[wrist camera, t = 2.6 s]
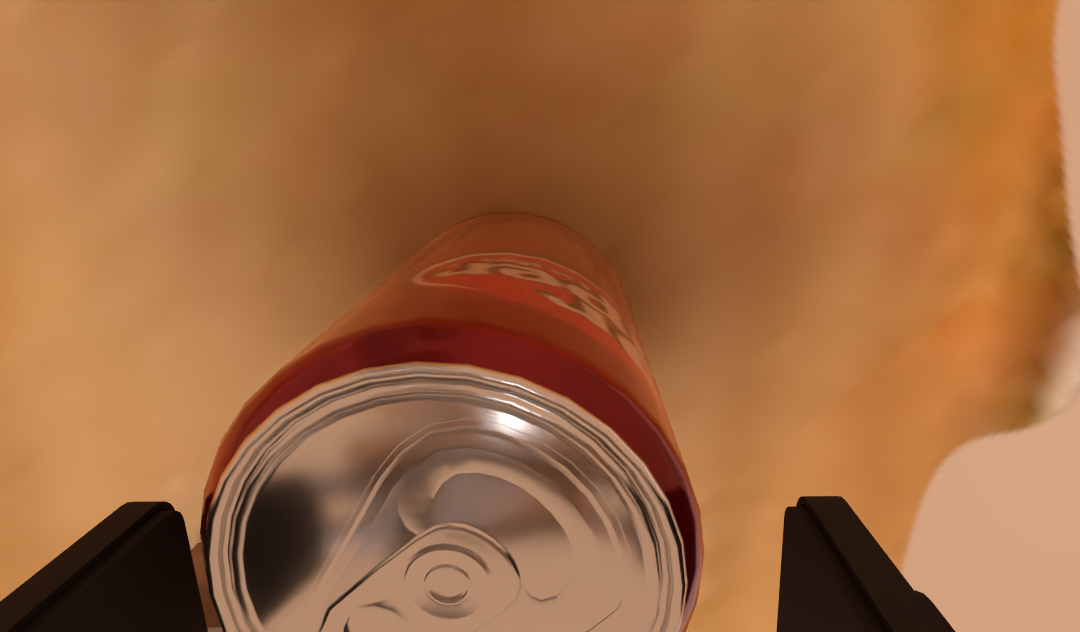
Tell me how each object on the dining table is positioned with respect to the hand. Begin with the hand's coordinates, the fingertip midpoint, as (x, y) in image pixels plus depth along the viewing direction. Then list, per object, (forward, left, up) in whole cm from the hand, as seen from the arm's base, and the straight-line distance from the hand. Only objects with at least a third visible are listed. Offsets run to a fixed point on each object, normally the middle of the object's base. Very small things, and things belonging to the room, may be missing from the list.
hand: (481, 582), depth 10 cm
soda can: (-1, 0, -11) cm, 11 cm away
